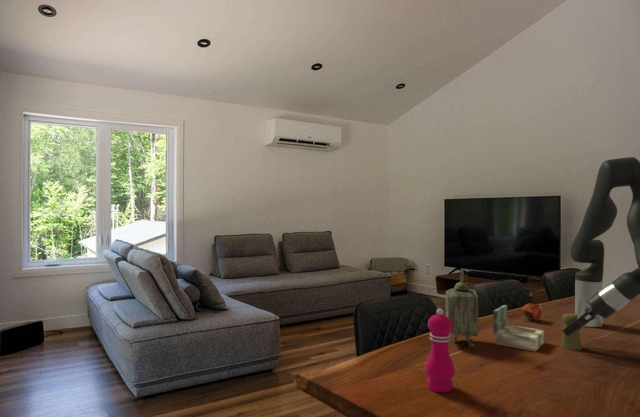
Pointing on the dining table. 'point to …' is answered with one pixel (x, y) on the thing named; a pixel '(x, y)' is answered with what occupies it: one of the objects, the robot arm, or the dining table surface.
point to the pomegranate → (531, 312)
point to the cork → (574, 338)
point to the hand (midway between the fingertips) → (567, 330)
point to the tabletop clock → (462, 310)
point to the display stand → (515, 333)
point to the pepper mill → (439, 354)
